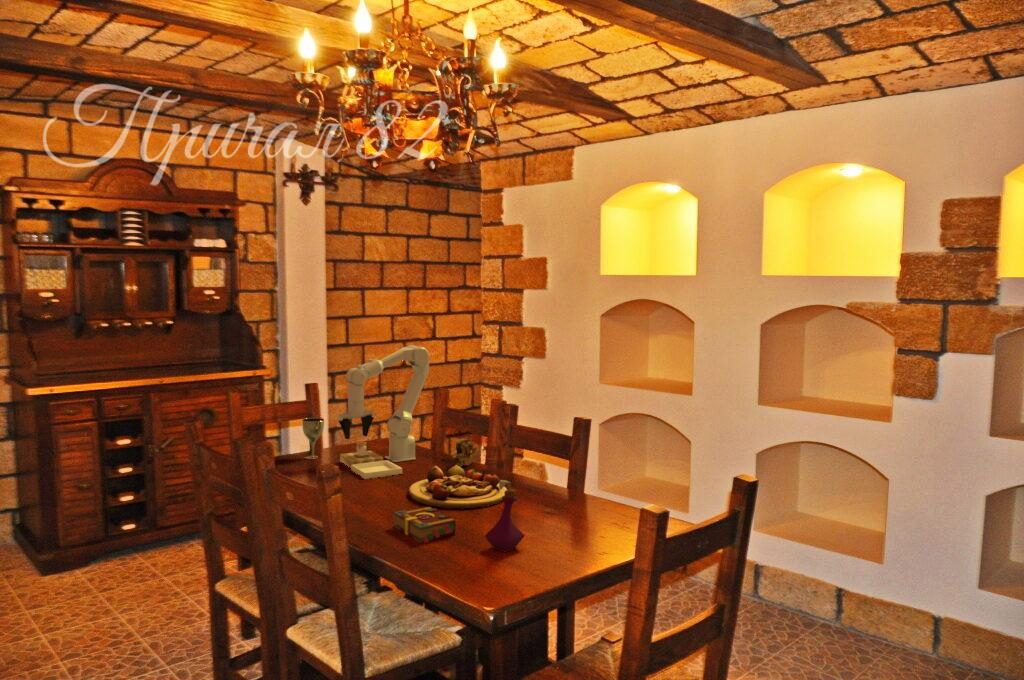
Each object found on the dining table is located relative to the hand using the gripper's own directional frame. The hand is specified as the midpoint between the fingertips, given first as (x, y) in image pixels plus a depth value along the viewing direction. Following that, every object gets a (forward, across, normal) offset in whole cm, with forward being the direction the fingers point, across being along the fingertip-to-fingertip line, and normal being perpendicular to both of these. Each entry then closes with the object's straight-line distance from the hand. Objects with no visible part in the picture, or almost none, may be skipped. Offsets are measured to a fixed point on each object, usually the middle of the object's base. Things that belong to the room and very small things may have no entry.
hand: (356, 437), depth 270 cm
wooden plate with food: (+11, -5, +53) cm, 54 cm away
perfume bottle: (+10, +16, +97) cm, 99 cm away
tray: (+10, +1, +14) cm, 17 cm away
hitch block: (+10, -2, 0) cm, 10 cm away
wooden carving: (+11, -31, +26) cm, 42 cm away
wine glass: (+10, +8, -18) cm, 22 cm away
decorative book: (+11, +24, +74) cm, 78 cm away
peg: (+10, -2, 0) cm, 10 cm away
